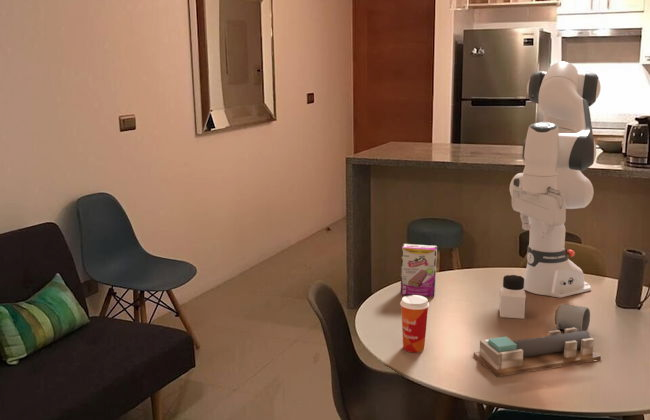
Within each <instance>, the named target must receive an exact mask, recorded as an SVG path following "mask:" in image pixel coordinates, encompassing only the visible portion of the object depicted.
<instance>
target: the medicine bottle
mask: <svg viewBox="0 0 650 420" xmlns="http://www.w3.org/2000/svg"><path fill="white" fill-rule="evenodd" d="M502 279H503V280H502V281H503V282H502V287H500V288H499V302H498V304H499V306H498V310H499V316H500V318H508V319H522V320H523V319H526V305H527V304H526V303H527V295H526V290H524V277H523V276H521V275H518V274H514V273H513V274H512V273H511V274H507V275H504V276H503V278H502Z"/></svg>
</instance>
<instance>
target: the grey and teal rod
mask: <svg viewBox="0 0 650 420" xmlns="http://www.w3.org/2000/svg"><path fill="white" fill-rule="evenodd" d="M587 338H591V336H590V334H589V332H588V331H587V332H586V331H579V332H573V333H566V334H564V333H562V334H559V335H552V336H548V335H546V336H541V337H540V336H539V337H534V338H526V339H519V340H514V341H512V339H510V338H509V337H508V336H501V337H500V336H499V337H493V338H488V339H489V345H490V346H492V347H493V348H494V349H495V350H497V351H498V352H499V353H500V352H505V351H512V350H518V349H522V350H523V358H524V357H530V356H537V355H543V354H549V353H556V352H562V351H564V347H565V342H567V341H574V340H575V341H577V349H581V339H587Z"/></svg>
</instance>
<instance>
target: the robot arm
mask: <svg viewBox="0 0 650 420" xmlns="http://www.w3.org/2000/svg"><path fill="white" fill-rule="evenodd" d="M526 93H527V96H528V99H529V101H530V102H531V103H534V104H537V105H539V107H540V110H541V112H543V113H544V117H543V120H542V121H540V122H534V123H532V124H530V125H529V127H528V129H527V133H526V138H525V139H524V140H523V143H522V152H521V153H522V154H521V156H522V157H521V158H522V159H523V161H524V163H525V164H524V169H523V170H522V172H519V173H516V174H515V175H514V176H513V177H512V179H511V181H510V184H509V192H510V193H509V194H510V197H511V207H512V210H513V211H515V212H518V213H520V214H519V217H520V221H521V224H522V225H521V229H522V230H524V231H529V236H528V237H529V239H528V240H529V241H528V242H529V243H528V245H527V249H526V250H527V251H526V268H525V273H524V277H523V278H524V290H525V292H526V291H527V292H528V293H533V294H536V295H540V296H541V295H542V296H548V297H549V296H550V297H553V298H554V297H555V298H566V297H568V296H569V297H570V296H572V295H576V294H577V295H578V294H581V293H585V292H589V291H592V287H591V285H590V284H589V283H588V282H586V281H585V276H584V272H583V270H582V269H581V267H579V266H578V265H577V264H575V263H574V262H573V261H572V260H570V259H569V256H570V257H574V256H575V255H576V253H575V252H576V251H575V250H572V249H567V248H565V242H566V226H565V223H566V221H567V219H566V218H567V217H566V216H567V209H568V210H573V209H575V210H576V209H585V208H586V207H587V206H588V205H589V204H590V203H591V202H592V200H593V198H594V186H593V183H592V182H591V180H590V179H589V178H588V177H587V176H585V175H584V174H583V171H585V170H587V169H589V168H590V167H591V166H592V165H594V163H595V161H596V158H597V145H596V142H595V138H594V134H593V126H592V118H591V112H590V111H591V110H590V107H592V105H593V104H595V103H596V101H597V99H598V98H599V96H600V93H601V82H600V79H599V76H598V75H597V74H596V73H593V72H590V71H586V72H583V71H578V69H577V68H576V66H575V65H573V64H572V63H570V62H568V61H558V62H556V63H553V64H552V65H550V66H549V68H548V69H547V71H545V70H539V71H535V72H534V73H532V74H531V75H530V78H529V79H528V81H527V83H526Z"/></svg>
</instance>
